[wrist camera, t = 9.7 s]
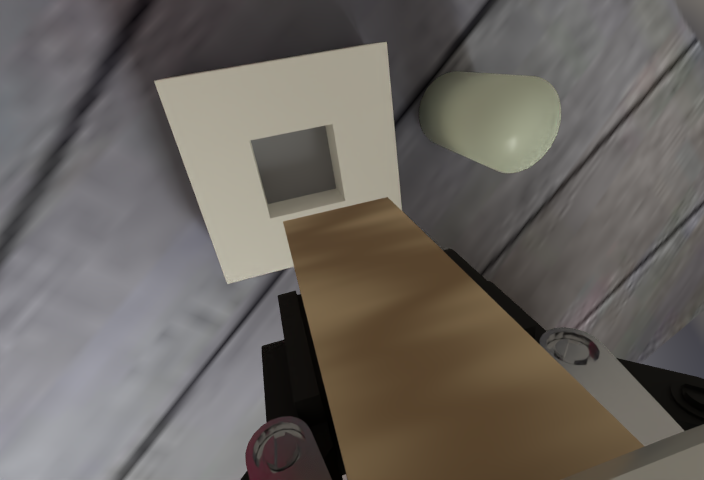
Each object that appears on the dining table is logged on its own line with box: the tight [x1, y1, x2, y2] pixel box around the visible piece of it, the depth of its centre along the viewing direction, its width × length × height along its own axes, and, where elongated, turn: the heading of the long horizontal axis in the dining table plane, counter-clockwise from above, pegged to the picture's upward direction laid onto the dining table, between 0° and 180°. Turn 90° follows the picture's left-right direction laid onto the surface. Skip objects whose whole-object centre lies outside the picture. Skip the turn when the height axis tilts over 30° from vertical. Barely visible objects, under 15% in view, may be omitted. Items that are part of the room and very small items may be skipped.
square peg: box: [283, 197, 645, 480], centre depth 10 cm, size 4×4×12 cm
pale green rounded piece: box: [419, 71, 561, 173], centre depth 28 cm, size 6×6×9 cm
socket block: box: [154, 42, 402, 284], centre depth 28 cm, size 14×14×5 cm
